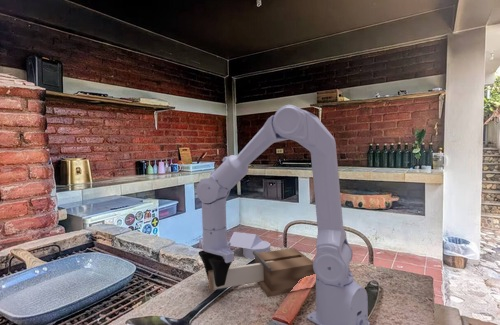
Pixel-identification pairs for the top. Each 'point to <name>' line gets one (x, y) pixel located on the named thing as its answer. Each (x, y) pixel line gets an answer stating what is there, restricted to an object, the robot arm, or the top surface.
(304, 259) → the dispenser
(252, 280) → the cream wooden plank
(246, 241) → the wedge on round base
